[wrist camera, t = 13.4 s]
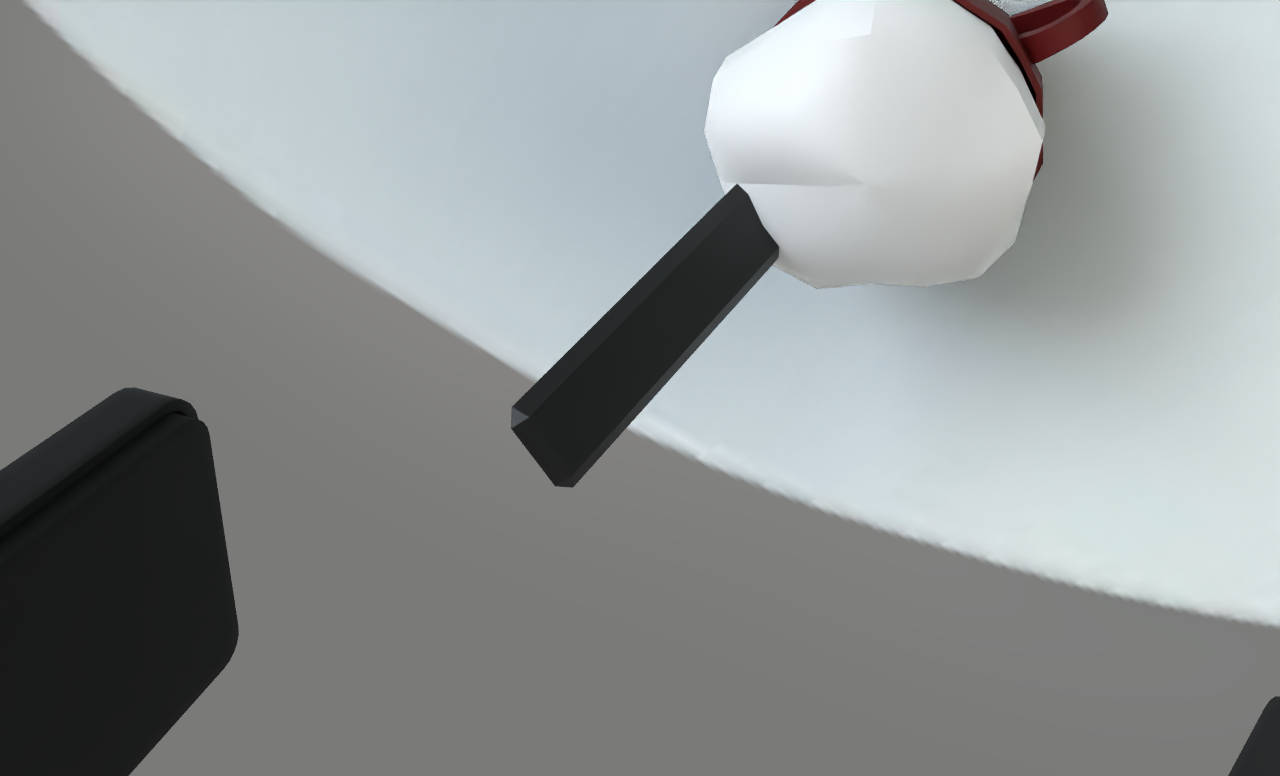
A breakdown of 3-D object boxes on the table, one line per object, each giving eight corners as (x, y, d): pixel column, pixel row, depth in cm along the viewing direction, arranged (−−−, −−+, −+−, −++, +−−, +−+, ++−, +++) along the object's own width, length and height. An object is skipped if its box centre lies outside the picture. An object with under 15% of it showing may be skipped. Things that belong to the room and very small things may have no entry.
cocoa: (1096, -94, 22) (1163, 29, 12) (1104, 203, 24) (1163, 506, 14) (654, -8, 25) (414, 143, 15) (704, 243, 28) (530, 511, 18)
